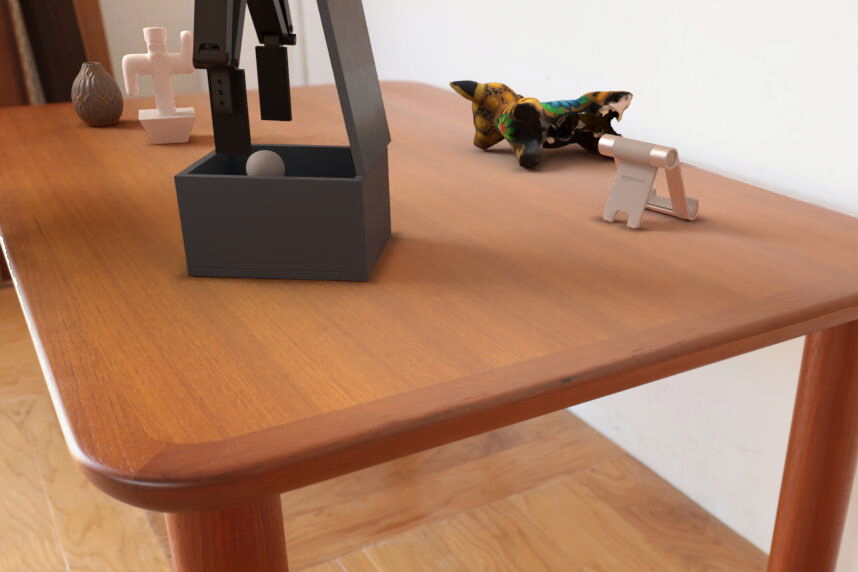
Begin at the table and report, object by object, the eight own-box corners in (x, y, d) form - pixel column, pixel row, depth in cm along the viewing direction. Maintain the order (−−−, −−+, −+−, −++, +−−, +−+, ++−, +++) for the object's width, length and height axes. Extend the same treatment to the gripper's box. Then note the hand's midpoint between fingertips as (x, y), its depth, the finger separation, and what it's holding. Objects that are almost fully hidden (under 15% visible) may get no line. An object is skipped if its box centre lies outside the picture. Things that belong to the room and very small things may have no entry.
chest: (188, 276, 77) (173, 175, 74) (235, 231, 89) (224, 142, 85) (367, 281, 77) (361, 180, 73) (391, 235, 88) (387, 146, 84)
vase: (102, 130, 130) (91, 67, 126) (66, 126, 132) (54, 64, 128) (136, 121, 136) (127, 61, 132) (101, 117, 138) (90, 58, 134)
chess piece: (312, 252, 81) (304, 153, 77) (255, 262, 78) (243, 160, 74) (289, 236, 85) (280, 141, 81) (234, 245, 82) (222, 148, 78)
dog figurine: (625, 189, 120) (549, 151, 133) (651, 97, 116) (570, 67, 129) (505, 178, 109) (434, 138, 121) (529, 75, 104) (453, 45, 117)
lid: (306, -40, 66) (429, -61, 65) (343, -45, 78) (447, -63, 77) (356, 176, 73) (468, 159, 72) (383, 142, 84) (480, 127, 83)
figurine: (134, 136, 127) (116, 24, 120) (204, 132, 130) (190, 23, 123) (134, 147, 120) (114, 30, 114) (207, 143, 123) (192, 28, 117)
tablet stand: (697, 219, 95) (706, 140, 91) (652, 234, 90) (659, 151, 86) (633, 202, 100) (639, 126, 97) (587, 215, 95) (591, 136, 92)
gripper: (230, -160, 57) (259, 174, 66) (318, -140, 79) (330, 109, 88) (113, -164, 57) (159, 169, 66) (233, -143, 79) (254, 106, 88)
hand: (256, 135), depth 77 cm, fingers open, 12 cm apart
